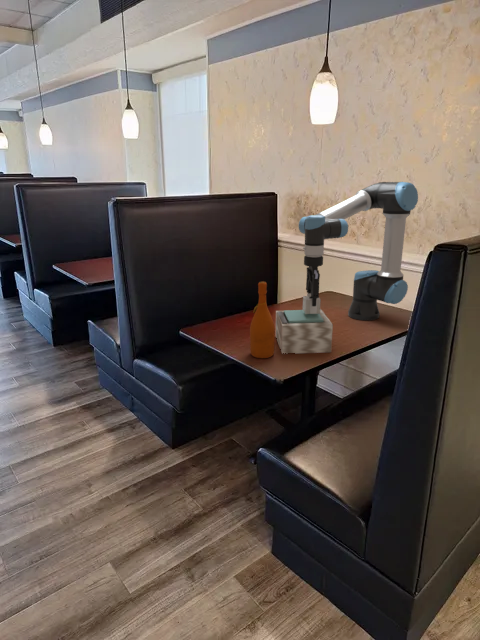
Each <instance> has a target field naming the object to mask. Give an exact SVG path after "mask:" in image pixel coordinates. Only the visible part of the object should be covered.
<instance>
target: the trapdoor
mask: <svg viewBox="0 0 480 640" xmlns="http://www.w3.org/2000/svg"><path fill="white" fill-rule="evenodd" d="M283 311H284V314H285V316H286V318H287V320H288V322H289V323H311V322H324V320H323V318H322V317H321V316H320V314H305V313H304V311H303V309H295V310H294V309H292V310H291V309H290V310H289V309H288V310H287V309H286V310H283Z"/></svg>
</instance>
